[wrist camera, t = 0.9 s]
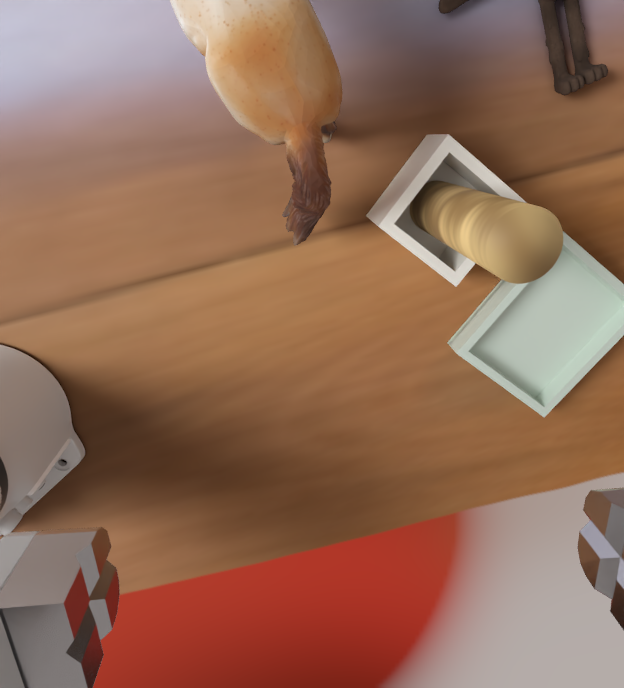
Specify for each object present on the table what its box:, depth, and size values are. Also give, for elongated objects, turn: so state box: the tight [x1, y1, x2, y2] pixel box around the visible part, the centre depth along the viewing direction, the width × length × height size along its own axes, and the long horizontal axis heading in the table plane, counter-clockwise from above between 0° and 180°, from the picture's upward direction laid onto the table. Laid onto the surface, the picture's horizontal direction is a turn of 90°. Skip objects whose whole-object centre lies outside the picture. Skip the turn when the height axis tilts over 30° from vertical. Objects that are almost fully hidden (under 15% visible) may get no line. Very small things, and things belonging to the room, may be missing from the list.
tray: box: [447, 231, 624, 417], centre depth 51 cm, size 14×12×3 cm
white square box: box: [366, 134, 527, 286], centre depth 45 cm, size 8×8×6 cm
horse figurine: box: [170, 0, 342, 245], centre depth 32 cm, size 31×8×21 cm, turn 28°
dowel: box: [410, 180, 563, 284], centre depth 38 cm, size 4×4×18 cm
